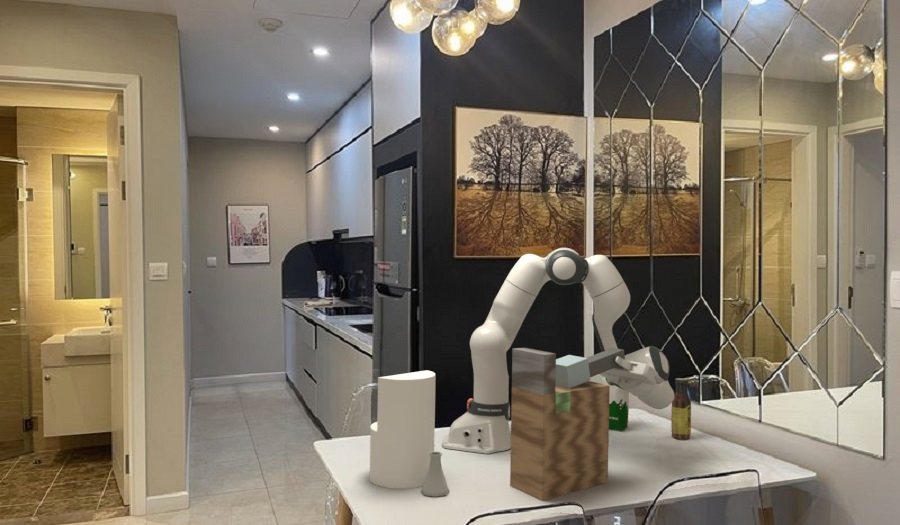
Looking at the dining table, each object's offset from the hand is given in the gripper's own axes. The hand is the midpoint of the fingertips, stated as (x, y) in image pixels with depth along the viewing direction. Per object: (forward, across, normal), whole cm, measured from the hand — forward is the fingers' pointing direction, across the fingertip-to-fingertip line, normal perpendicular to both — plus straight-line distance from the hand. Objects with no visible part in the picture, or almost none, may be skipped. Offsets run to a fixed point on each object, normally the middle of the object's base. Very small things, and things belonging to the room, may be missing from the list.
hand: (607, 357), depth 182 cm
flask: (+26, +13, -53) cm, 60 cm away
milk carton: (-51, +31, -8) cm, 60 cm away
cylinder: (+27, +27, -54) cm, 66 cm away
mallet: (+4, 0, -7) cm, 8 cm away
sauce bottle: (-59, +11, -4) cm, 60 cm away
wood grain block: (-1, 0, -37) cm, 37 cm away
